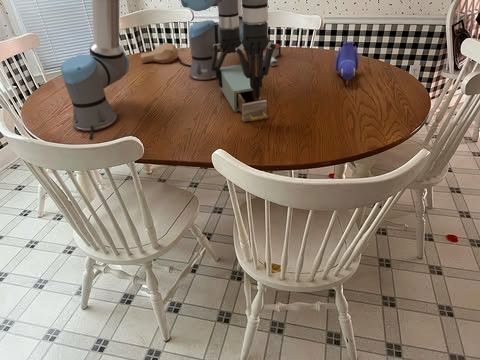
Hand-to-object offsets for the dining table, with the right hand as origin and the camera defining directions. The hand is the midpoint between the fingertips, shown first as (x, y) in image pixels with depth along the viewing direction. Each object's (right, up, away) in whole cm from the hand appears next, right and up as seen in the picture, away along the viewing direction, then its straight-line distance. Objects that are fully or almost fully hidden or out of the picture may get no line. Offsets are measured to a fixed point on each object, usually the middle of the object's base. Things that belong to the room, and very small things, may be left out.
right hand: (233, 84), depth 147 cm
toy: (+49, +4, +8) cm, 50 cm away
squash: (-39, +23, +41) cm, 62 cm away
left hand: (+8, -12, -28) cm, 31 cm away
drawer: (+6, -13, -14) cm, 20 cm away
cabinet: (+2, -6, -4) cm, 8 cm away
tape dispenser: (+17, +22, +35) cm, 45 cm away
